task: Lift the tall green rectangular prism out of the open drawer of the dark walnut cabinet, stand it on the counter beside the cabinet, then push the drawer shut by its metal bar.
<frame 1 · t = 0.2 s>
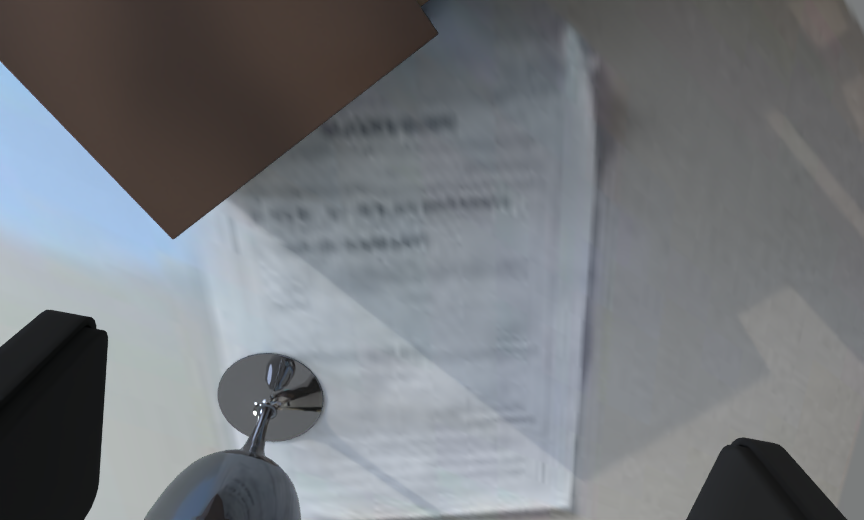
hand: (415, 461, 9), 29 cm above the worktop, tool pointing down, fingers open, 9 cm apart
cabinet: (232, 3, 33), on the worktop
wine glass: (271, 396, 42), on the worktop
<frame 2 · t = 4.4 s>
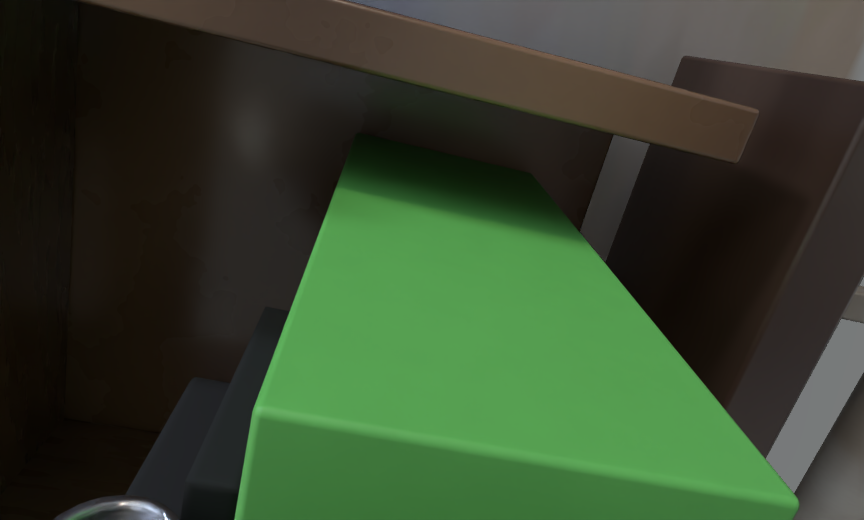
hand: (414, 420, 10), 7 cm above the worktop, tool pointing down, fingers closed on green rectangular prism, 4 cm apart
green rectangular prism: (410, 294, 15), point 2 cm above the worktop, touching drawer, gripper
drawer: (467, 346, 13), point 4 cm above the worktop, slide at 11.0 cm, touching green rectangular prism
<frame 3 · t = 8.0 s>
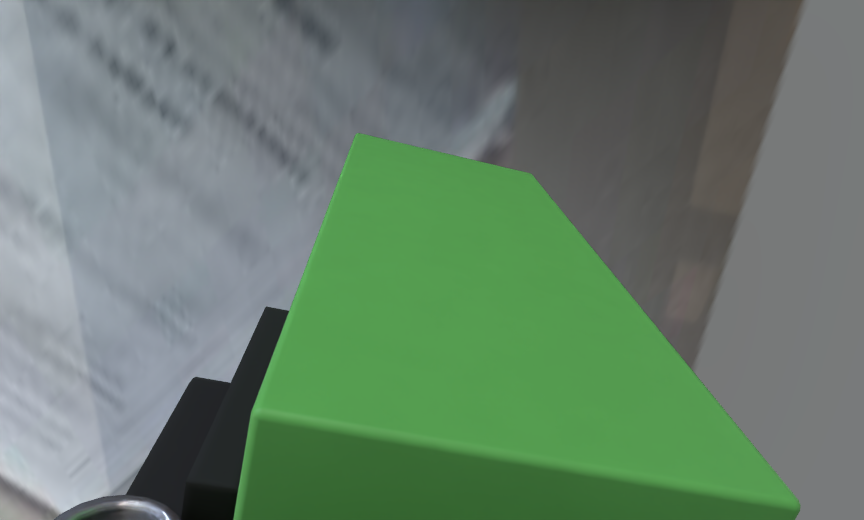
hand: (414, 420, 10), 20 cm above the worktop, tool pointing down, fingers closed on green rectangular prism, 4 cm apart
green rectangular prism: (409, 294, 15), point 15 cm above the worktop, touching gripper
when the fingers open (5 cm above the worktop, at t = 11.6 s): green rectangular prism stays where it is, on the worktop.
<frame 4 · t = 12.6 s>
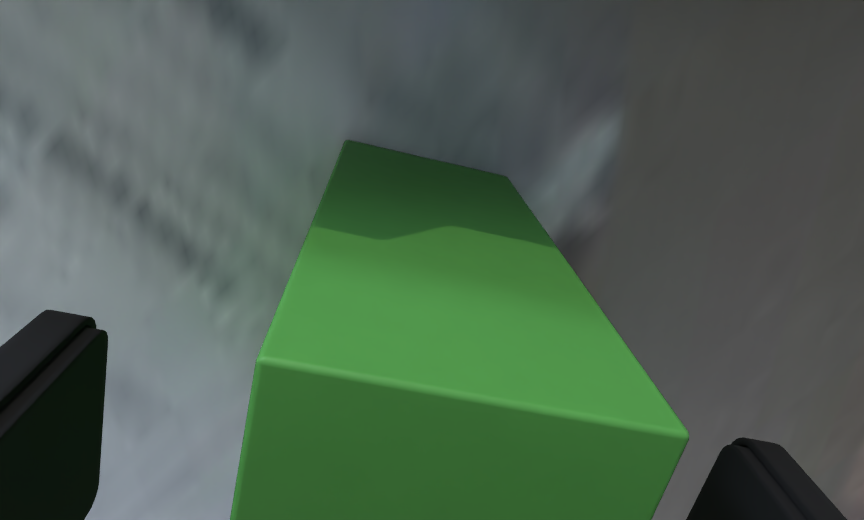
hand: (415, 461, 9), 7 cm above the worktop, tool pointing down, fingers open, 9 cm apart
green rectangular prism: (396, 288, 16), on the worktop
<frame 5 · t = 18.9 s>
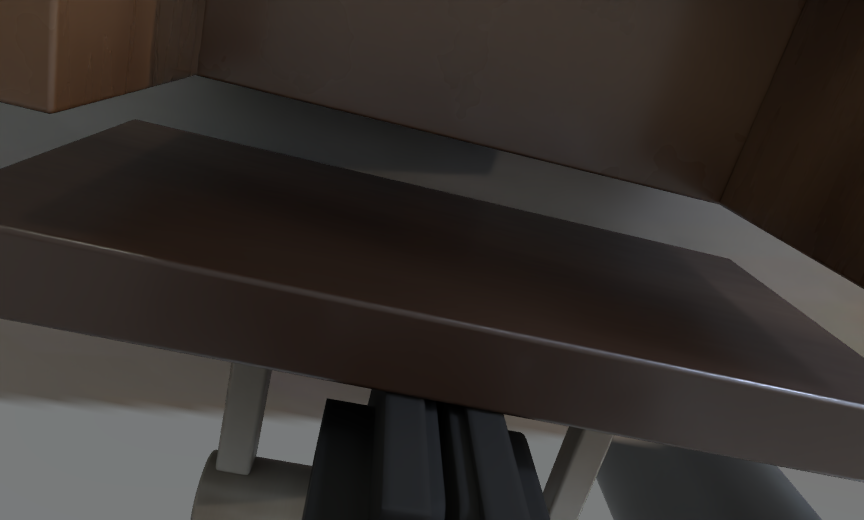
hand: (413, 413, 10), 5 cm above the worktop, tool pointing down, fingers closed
drawer: (527, 20, 9), point 4 cm above the worktop, slide at 10.0 cm, touching gripper
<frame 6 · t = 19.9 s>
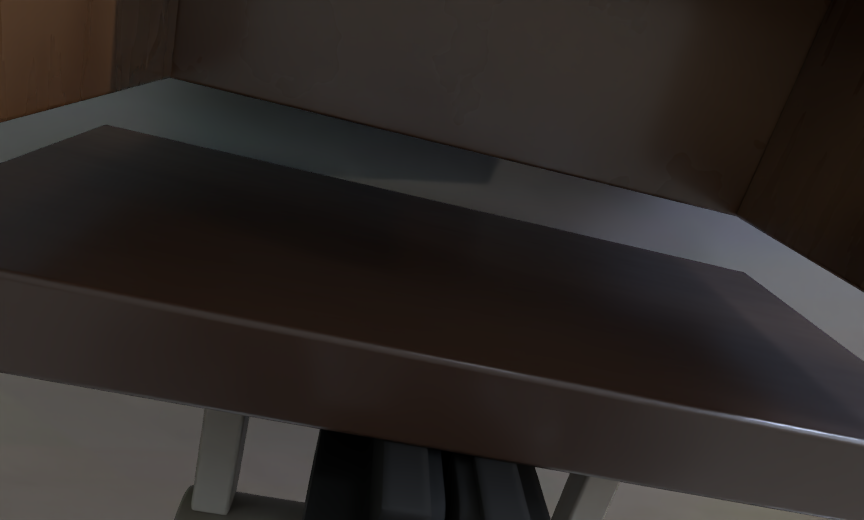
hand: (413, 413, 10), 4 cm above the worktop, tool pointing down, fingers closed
drawer: (532, 17, 8), point 4 cm above the worktop, slide at 5.3 cm, touching gripper
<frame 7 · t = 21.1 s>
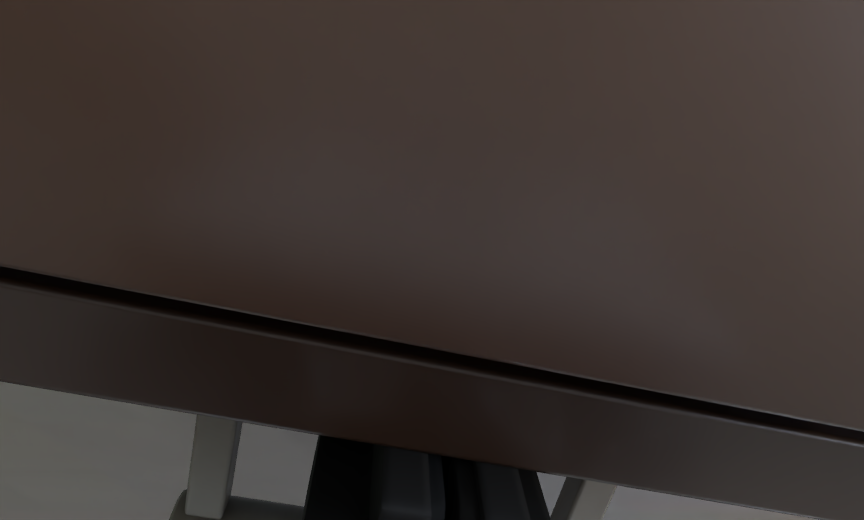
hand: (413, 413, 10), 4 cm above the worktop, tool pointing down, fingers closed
drawer: (525, 14, 8), point 4 cm above the worktop, slide at 0.6 cm, touching gripper
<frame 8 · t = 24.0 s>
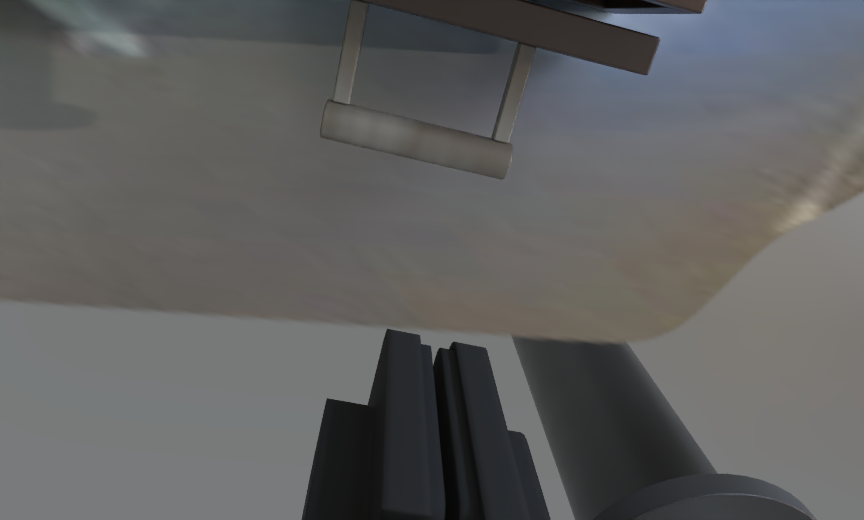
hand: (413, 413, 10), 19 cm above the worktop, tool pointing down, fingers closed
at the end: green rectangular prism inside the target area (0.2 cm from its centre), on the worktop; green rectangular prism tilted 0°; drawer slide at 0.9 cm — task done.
